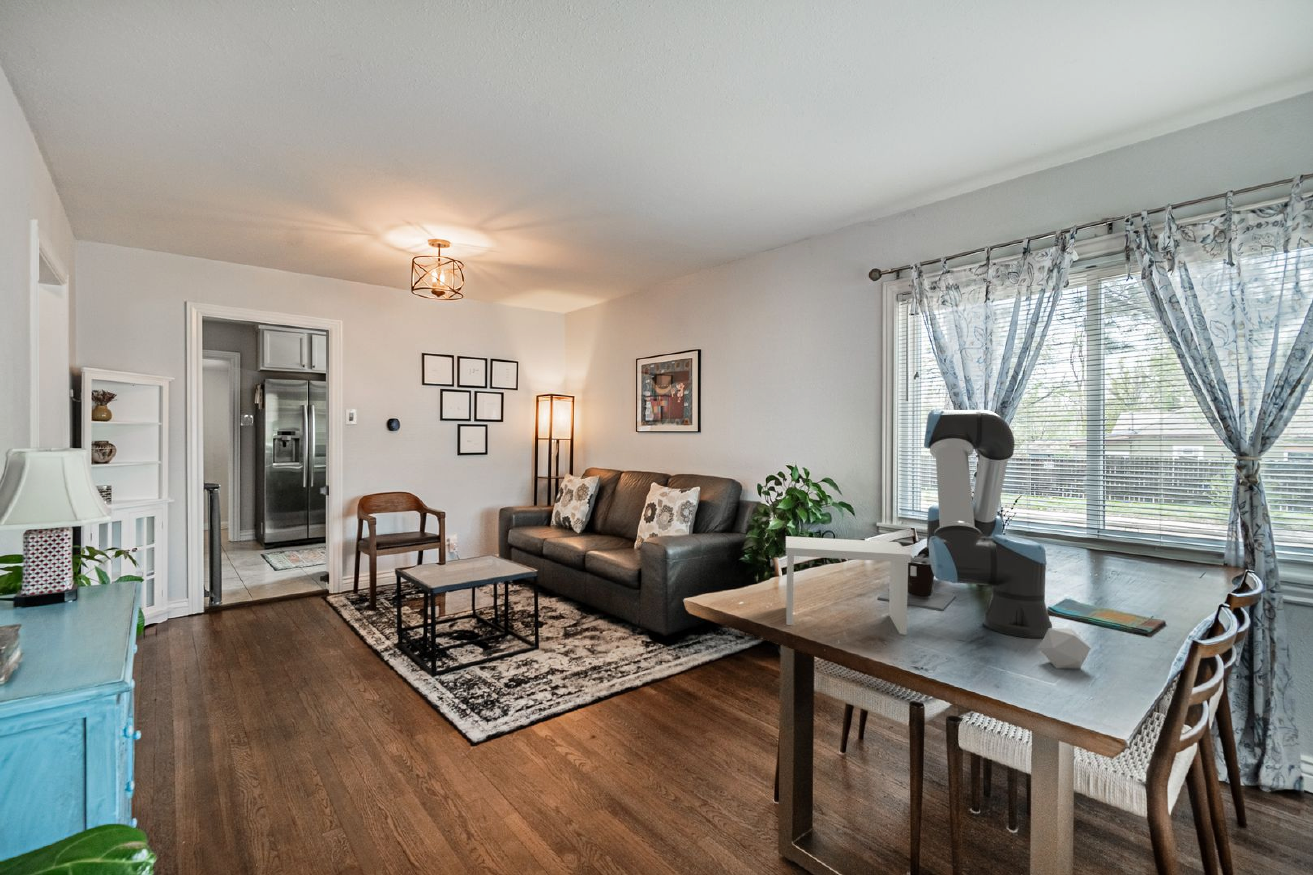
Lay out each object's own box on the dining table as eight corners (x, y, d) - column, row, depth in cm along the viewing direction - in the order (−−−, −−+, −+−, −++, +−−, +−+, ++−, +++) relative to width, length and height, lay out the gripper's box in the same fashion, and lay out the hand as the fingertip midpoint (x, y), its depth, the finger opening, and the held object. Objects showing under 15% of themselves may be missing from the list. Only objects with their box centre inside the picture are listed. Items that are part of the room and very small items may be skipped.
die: (1089, 680, 125) (1103, 639, 128) (1049, 656, 127) (1064, 616, 130) (1063, 679, 133) (1077, 640, 136) (1026, 656, 135) (1041, 618, 137)
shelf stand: (784, 606, 172) (785, 536, 172) (896, 614, 166) (898, 542, 166) (784, 625, 156) (786, 547, 155) (908, 635, 149) (910, 554, 149)
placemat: (956, 597, 185) (956, 595, 185) (943, 610, 170) (943, 608, 170) (894, 587, 196) (894, 585, 196) (877, 599, 181) (877, 597, 181)
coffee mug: (929, 599, 176) (931, 565, 176) (899, 593, 182) (900, 560, 182) (942, 591, 185) (943, 559, 185) (913, 586, 191) (914, 554, 190)
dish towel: (1065, 605, 180) (1065, 596, 180) (1166, 626, 162) (1166, 616, 162) (1043, 615, 170) (1043, 606, 170) (1149, 639, 151) (1149, 629, 151)
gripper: (953, 572, 194) (936, 587, 175) (910, 566, 201) (890, 580, 183) (954, 548, 193) (937, 561, 175) (911, 543, 201) (890, 555, 182)
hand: (913, 571), depth 179 cm, fingers closed
